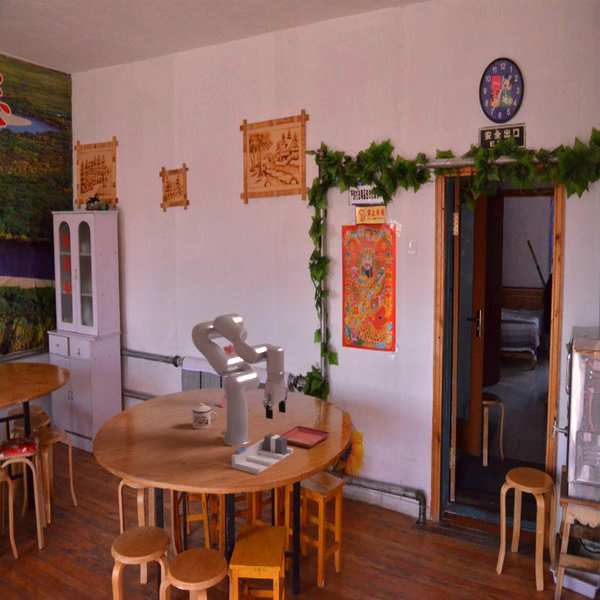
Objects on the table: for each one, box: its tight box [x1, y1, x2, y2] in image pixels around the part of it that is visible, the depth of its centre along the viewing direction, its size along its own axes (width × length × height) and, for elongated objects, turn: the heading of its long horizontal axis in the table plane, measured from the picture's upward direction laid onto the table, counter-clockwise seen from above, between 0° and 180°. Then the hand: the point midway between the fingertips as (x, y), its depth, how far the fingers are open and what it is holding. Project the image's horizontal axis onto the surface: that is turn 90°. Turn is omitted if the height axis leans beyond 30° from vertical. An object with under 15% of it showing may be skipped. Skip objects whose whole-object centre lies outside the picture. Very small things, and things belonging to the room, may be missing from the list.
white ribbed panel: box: [231, 438, 294, 475], centre depth 248 cm, size 13×26×6 cm, turn 148°
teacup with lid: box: [191, 402, 218, 430], centre depth 289 cm, size 12×9×12 cm
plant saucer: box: [279, 425, 331, 449], centre depth 271 cm, size 18×18×3 cm
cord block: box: [263, 433, 288, 455], centre depth 254 cm, size 9×4×7 cm, turn 58°
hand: (275, 415), depth 252 cm, fingers open, 9 cm apart
